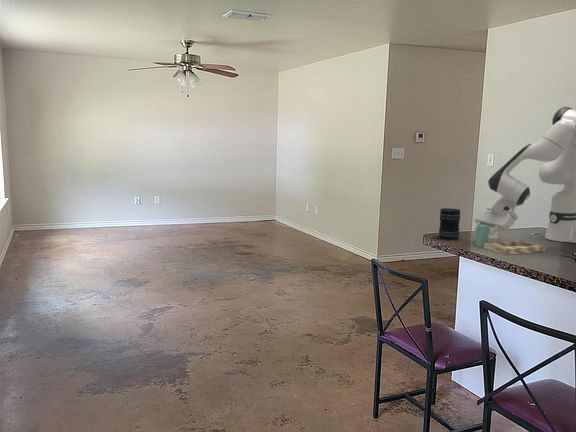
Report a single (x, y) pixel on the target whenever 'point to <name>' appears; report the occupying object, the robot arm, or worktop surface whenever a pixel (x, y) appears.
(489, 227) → the medicine bottle
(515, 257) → the worktop surface
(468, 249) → the worktop surface
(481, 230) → the post
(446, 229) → the storage jar
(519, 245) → the keyhole board
